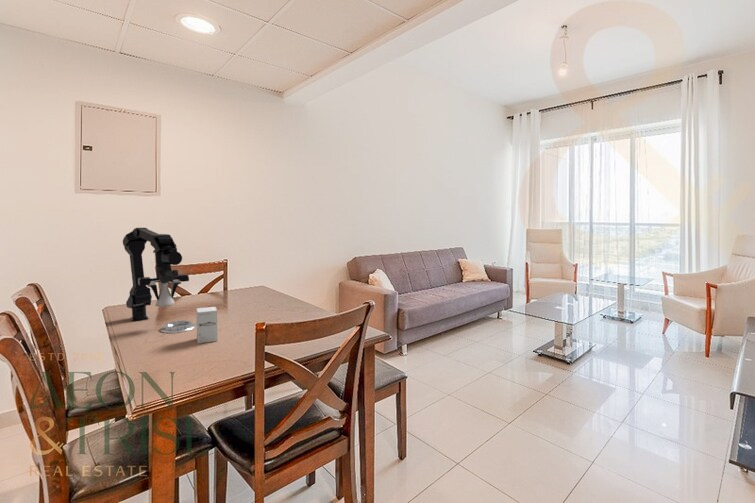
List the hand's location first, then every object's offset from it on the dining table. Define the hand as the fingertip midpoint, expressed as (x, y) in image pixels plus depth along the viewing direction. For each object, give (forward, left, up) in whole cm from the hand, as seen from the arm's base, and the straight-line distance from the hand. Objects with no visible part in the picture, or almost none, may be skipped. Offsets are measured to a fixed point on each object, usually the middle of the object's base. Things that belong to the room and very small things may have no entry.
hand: (165, 299), depth 163 cm
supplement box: (+27, +9, -13) cm, 32 cm away
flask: (0, 0, -3) cm, 3 cm away
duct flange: (+4, +4, -13) cm, 14 cm away
